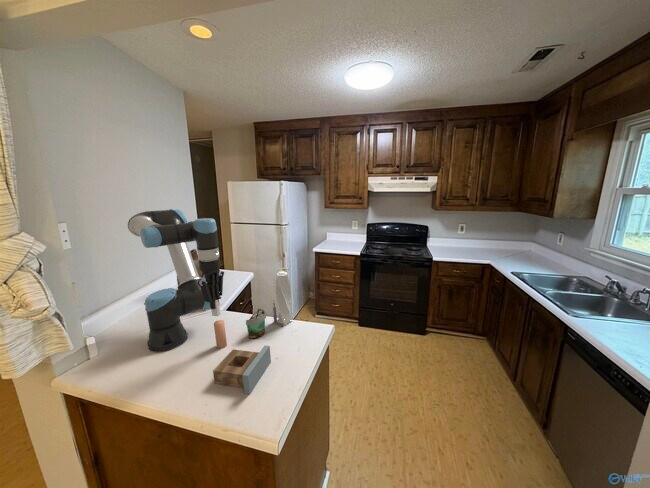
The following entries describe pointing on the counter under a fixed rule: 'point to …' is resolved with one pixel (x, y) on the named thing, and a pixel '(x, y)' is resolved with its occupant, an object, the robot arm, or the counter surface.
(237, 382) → the block
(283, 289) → the skyscraper
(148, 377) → the counter surface
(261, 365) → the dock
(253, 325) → the food container
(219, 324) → the dowel
